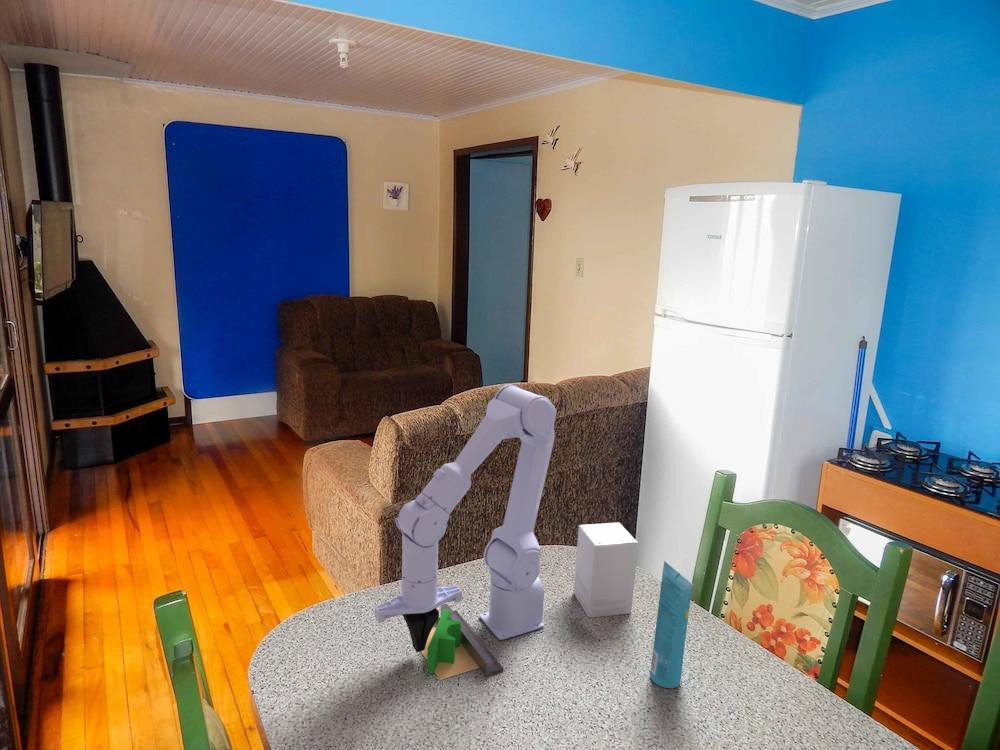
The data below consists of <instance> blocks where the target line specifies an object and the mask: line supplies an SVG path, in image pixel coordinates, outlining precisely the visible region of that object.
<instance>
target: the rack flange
mask: <svg viewBox="0 0 1000 750" xmlns="http://www.w3.org/2000/svg"><path fill="white" fill-rule="evenodd" d="M444 609H447V610H450V620H452V621H460V622H461V636H460V647H455V661H454V664H451V663H444V662H438V664H437V666H436V669H435V671H434V674H435V675H436V677H437V679H438V680H439V681H443V680H445V679H448V678H451V677H456V676H457V675H460V674H463V673H464V674H465V673H466V672H469V671H473V670H476V669H479V670H480V671H481V672H482V674H483V675H484V676H485V678H487V677H490V676H493V675H497V674H499V673H502V672H504V667H503V666H502V664H501V663H500V662H499V661H498V660H497V658H496V657H495V656H494V654H493V653H492V652H491V651H490V650H489V648H488V647H487V646H486V645H485V644H484V642H483V640H482V639H480V637H479V636H478V635H477V634H476V632H475V631H474V630H473V629H472V627H471V626H470V625H469V623H467V621H466V620H465V619H464V618H463V617H462V615H461V614H460V613H459V612H458V609H456V610H453V609H452V608H451V607H450V605H449V604H448V603H444V604H442V605H440V616H441V615H442V613H443V610H444ZM436 627H437V626H436ZM436 627H433V628H432V630H431V632H430V634H429V637H428V639H427V643H426V646H425V650H423V651H420V652H421V654H422V655H423V657H424V658H425V660H426V661H427V653H428V646H429V644H430V641H431V639H432V637H433V634H434V632H435V629H436ZM433 630H434V631H433ZM409 636H410V637H411V635H410V634H409Z"/></svg>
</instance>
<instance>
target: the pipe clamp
mask: <svg viewBox="0 0 1000 750" xmlns="http://www.w3.org/2000/svg"><path fill="white" fill-rule="evenodd" d="M460 636H461V622H460V621H452V620H450V610H447V609H444V610H443V613H442V615H441V614H440V617H439V619H438V622H437V625H436V629H435V632H434V634H433V637H432V639H431V641H430V644H429V646H428V653H427V660H426V662H427V663H426V673H428V674H435V672H434V671H435V669H436V666H437V664H438V662H444V663H451V664H454V661H455V647H460Z"/></svg>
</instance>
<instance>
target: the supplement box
mask: <svg viewBox="0 0 1000 750" xmlns="http://www.w3.org/2000/svg"><path fill="white" fill-rule="evenodd" d="M576 543H577V545H576V556H575V557H576V559H575V570H574V571H575V573H574V585H573V595H574V596H575V598H576V599H577V601H578V603H580V607H582V609H583V611H584V612H585V613H586V616H587V617H588V618H590V619H591V618H597V617H599V618H600V617H608V616H609V617H610V616H617V615H619V616H620V615H629V613H630V615H631V614H632V610H633V609H632V608H633V597H634V589H635V588H634V587H635V579H636V571H637V570H636V568H637V560H638V552H639V551H638V550H639V542H638V541H637V539H635V538H634V537H633V535H632V534H631V533H630V532H629V531H628V530H627V529H626V528H625V527H624V526H623V525H622V523H620V522H619V521H618V522H605V523H592V524H591V523H590V524H586V523H585V524H579V525H578V531H577V542H576Z"/></svg>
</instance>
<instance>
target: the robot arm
mask: <svg viewBox="0 0 1000 750" xmlns="http://www.w3.org/2000/svg"><path fill="white" fill-rule="evenodd" d="M486 407H487V408H486V413H485V416H484V417H483V419H482V420H481V422H480V423H479V425H478V427H477V428H476V429H475V431H473V434H472V435H471V437H470V438H469V440H468V441H467V443H466V444H465V445H464V447H463V448H462V450H461V451H460V452H459V454H458V456H457V457H456V459H455V461H453V462H448V463H444V464H442V466H440V468H436V470H435V471H434V472H433V477H432V478H431V479H430V481H429V482H428V484H427V485H426V486H425V487H424V488H423V489H422V491H421V492H420V493H419V494H418V495H417V496H416V498H414V499H413V500H410V501H409V502H407V503H405V504H404V505H403V506H402V507H401V508H400V510H399V513H398V517H395V519H394V522H395V524H396V527H397V528H398V530H399V531H400V532H401V543H402V545H401V548H402V549H401V550H402V551H401V552H402V553H401V594H399V595H397V596H395V597H393V598H391V599H389V600H387V601H385V602H382V603H381V604H378V605H374V618H375V620H376V621H377V623H378V624H380V623H384V622H385V621H386V619H389V618H393V617H397V616H398V617H399V616H401V615H402V617H403V619H404V620H405V623H406V626H407V628H408V630H409V633H410V634H409V636H410V635H411V636H410V638H411V643H412V647H413V649H414V650H415V652H416V653H420V652H421V651H423V650H425V646H426V643H427V639H428V637H429V634H430V632H431V630H432V628H434V626H435V624H436V623H438V622H437V621H439V620H440V612H439V610H438V609H437V608H439V607H441V605H444V604H448V603H451V602H455V603H459V602H463V601H462V599H463V598H462V597H463V590H462V589H461V588H460V587H459V586H458V585H451V586H440V587H439V586H438V567H439V566H438V565H439V564H438V563H439V541H440V540H441V538H443V537H444V535H445V533H446V530H447V525H448V521H449V520H450V516H451V515H450V514H451V513H452V512H453V510H454V509H455V508H456V507H457V505H458V503H460V501H461V500H462V498H463V497H464V496H465V495H466V493H467V492H468V491H469V490H470V488H471V486H472V481H471V478H472V477H471V475H472V474H473V473H474V472H475V471H476V470H477V469H478V467H480V465H481V464H482V463H483V462H484V461H485V460H486V458H488V456H489V455H490V454H491V453H492V451H493V450H494V449H495V448H496V447H497V446H498V445H499V444H500V443H501V441H502V440H503V441H504V440H505V439H515V438H519V439H520V442H521V444H520V449H519V453H518V456H517V460H516V461H517V463H516V465H515V470H514V475H513V479H512V484H511V488H510V493H509V497H508V502H507V507H506V510H505V515H504V520H503V524H501V525H500V526H499V527H496V528H494V529H493V530H492V533H491V538H490V540H489V541H488V542H487V545H486V546H485V548H484V551H483V561H484V563H485V565H486V566H487V567H489V575H490V584H489V606H488V607H489V609H488V611H486V612H484V613H481V614H479V619H480V620H482V622H483V623H484V624H485V625H486V626H487V628H488V629H489V630H490V631H491V632H492V633H493V635H494V636H495V637H496V638H497V639H498V641H499V640H500V641H502V640H506V639H510V638H512V637H516V636H520V635H522V634H526V633H528V632H533V631H536V630H540V629H543V628H544V627H545V623H544V622H543V612H544V611H543V610H544V600H545V599H544V598H545V592H544V591H545V590H544V584H543V583H542V579H541V578H540V577H539V575H540V573H541V562H540V561H541V560H540V554H541V552H542V551H541V546H540V545H539V541H538V540H537V538H536V536H535V533H534V530H535V525H536V521H537V517H538V513H539V512H538V511H539V507H540V504H541V499H542V495H543V492H544V491H543V490H544V486H545V481H546V479H547V473H548V468H549V465H550V460H551V455H552V451H553V447H554V443H555V438H556V437H555V436H556V435H555V426H554V424H555V421H556V416H557V413H558V412H557V409H556V407H555V406H554V404H553V403H552V401H551V400H550V399H549V398H548V397H546V396H544V395H539V394H536V393H534V392H531V391H529V390H528V391H527V390H525V389H523V388H520V387H519V386H516V385H514V384H505V385H503V386H502V387H500V388H499V389H498V390H497V391H496V393H495V395H494V396H493V398H492V399H491V400H490V401H488V403H487V406H486Z"/></svg>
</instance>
